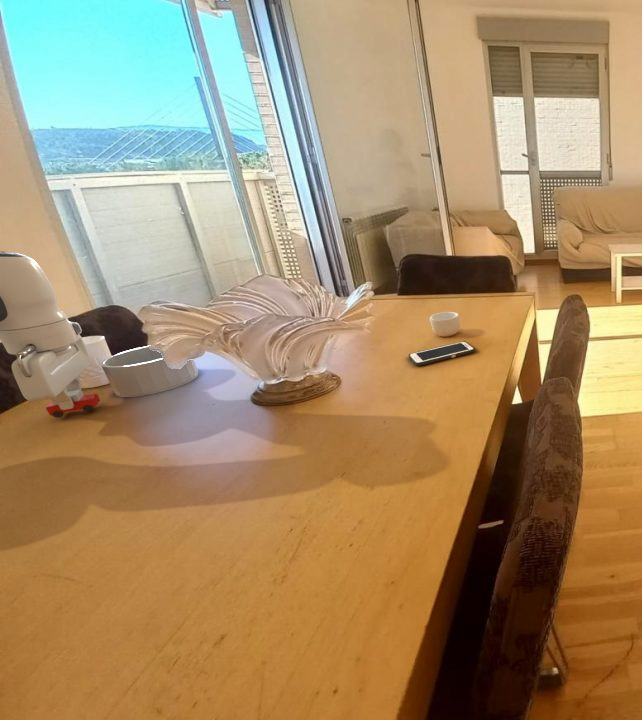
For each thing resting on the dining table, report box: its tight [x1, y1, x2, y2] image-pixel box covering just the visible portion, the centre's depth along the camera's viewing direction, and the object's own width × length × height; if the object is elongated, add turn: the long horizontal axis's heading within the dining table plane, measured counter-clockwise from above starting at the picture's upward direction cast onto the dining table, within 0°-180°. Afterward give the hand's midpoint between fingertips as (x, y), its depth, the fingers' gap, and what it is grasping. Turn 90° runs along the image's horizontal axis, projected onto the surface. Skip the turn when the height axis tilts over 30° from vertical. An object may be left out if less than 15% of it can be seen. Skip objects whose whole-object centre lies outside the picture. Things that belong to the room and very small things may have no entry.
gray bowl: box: [100, 345, 199, 398], centre depth 106 cm, size 14×14×7 cm
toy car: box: [45, 388, 101, 419], centre depth 94 cm, size 6×4×4 cm, turn 123°
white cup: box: [78, 335, 113, 389], centre depth 107 cm, size 8×8×10 cm
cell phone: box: [408, 340, 476, 367], centre depth 118 cm, size 8×15×1 cm, turn 127°
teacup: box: [429, 311, 461, 338], centre depth 133 cm, size 10×8×5 cm
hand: (73, 403), depth 94 cm, fingers closed on toy car, 3 cm apart
